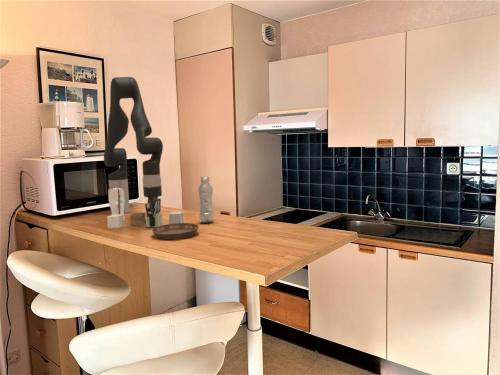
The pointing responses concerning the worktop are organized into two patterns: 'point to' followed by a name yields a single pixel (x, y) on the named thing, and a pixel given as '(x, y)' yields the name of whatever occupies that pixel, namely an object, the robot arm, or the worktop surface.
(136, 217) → the walnut block
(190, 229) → the plant saucer
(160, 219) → the green block
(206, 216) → the plastic bottle
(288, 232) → the worktop surface
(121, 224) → the white block
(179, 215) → the grey block
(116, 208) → the beer glass
